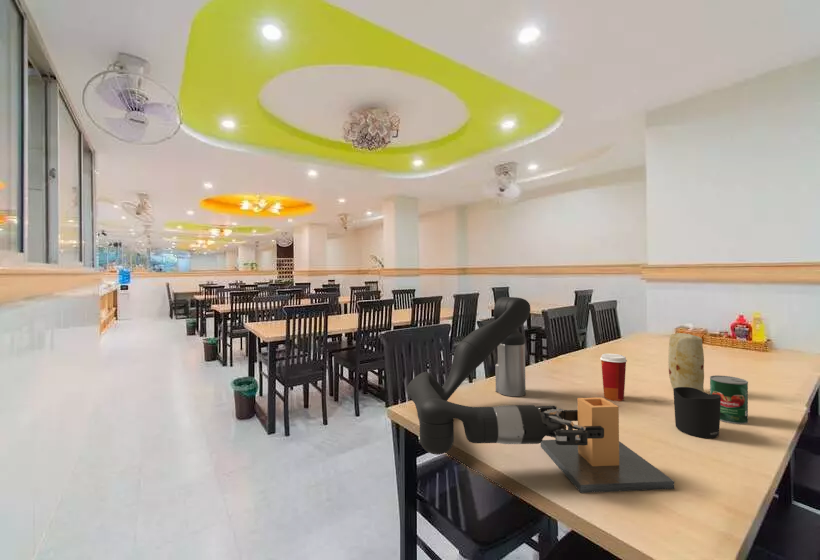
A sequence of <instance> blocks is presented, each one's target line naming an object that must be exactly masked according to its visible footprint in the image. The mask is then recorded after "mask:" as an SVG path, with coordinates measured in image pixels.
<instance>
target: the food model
mask: <svg viewBox="0 0 820 560" xmlns="http://www.w3.org/2000/svg"><path fill="white" fill-rule="evenodd" d="M667 363H668V365H667V366H668V375H669V377H668V378H669V380H670V384H671V388H672V390H673V389H674V388H677V387H691V388H695V389H698V390H700V391H702V392H705V389H704V388H705V387H704V381H705V354H704V346H703V338H702V337H701V336H698V335H695V334H694V335H693V334H690V333H684V332H683V333H681V332H678V333H677V332H676V333H672V334H670V335H669V341H668V361H667Z"/></svg>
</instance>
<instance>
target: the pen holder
mask: <svg viewBox="0 0 820 560" xmlns="http://www.w3.org/2000/svg"><path fill="white" fill-rule="evenodd" d="M672 391H673V405H674V406H673V407H674V422H675V428H676V429H677V430H678V431H679V432H681V433H682V434H685V435H689V436H691V437H695V438H699V439H700V438H701V439H716V438H717V437H719V436H720V426H721V421H720V405H721V396H720V395H718V394H710V393H707V392H705V391H704V392H702V391H700V390H698V389H695V388H691V387H677V388H674V389H673V388H672Z"/></svg>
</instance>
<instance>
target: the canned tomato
mask: <svg viewBox="0 0 820 560" xmlns="http://www.w3.org/2000/svg"><path fill="white" fill-rule="evenodd" d="M709 390H710V391H709V394H718V395H720V396H721V405H720V422H724V423H727V424H728V423H729V424H733V425H747V424H748V423H749V409H748V408H749V397H748V396H749V394H748V393H749V381H748V380H746V379H744V378H740V377H735V376H730V375H729V376H728V375H718V374H717V375H710V376H709Z"/></svg>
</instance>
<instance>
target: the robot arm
mask: <svg viewBox="0 0 820 560" xmlns="http://www.w3.org/2000/svg"><path fill="white" fill-rule="evenodd" d="M530 315H531V304H530V303H529V301H528V300H526V299H524V298H522V297H517V296H516V297H514V296H501V297H499V298H498V299H497V300H496V301H495V304H494V307H493V321H492V322H489V323H488V324H485V325H482V326H480V327H478V328H476V329H474V330H473V331H471V332H470V333H468V334H467V335H466V336H465V337H464V338H463V339H462V340H461V341H460V342H459V343H458V344H457V345H456V346H455V350H454V352H453V353H454V354H453V356H452V357H453V358H452V362H451V367H450V371H449V374H448V375H447V378H446V380H445V381H444V383H443V385H441V384H440V383H439V382H438V380H437V379H436V378H435V377H434V376H433V375H432V374H431V373H430V372H428V371H423V372H421V373H419V374H417V375H416V376H414V377H413V379H411V380H410V382H409V383H408V385H407V387H406V393H407V395H408V397H409V398H410V399H411V401H412V402H413V403H414V405H415V408H416V414H417V418H418V422H419V423H418V424H419V443H420V446H421V447H422V448H423V450H425V451H426V452H427V453H429V454H432V455H435V456H436V455H438V456H439V455H444V454H446V453H448V451H450V450H451V449H452V447H453V444H454V443H455V441H454V440H455V436H454V435H455V432H454V430H455V429H454V419H456V420H459V421H461V422H462V425H463V430H464V431H463V432H464V433H465V437H466V440H467V441H468V442H470V443H471V444H500V445H501V444H502V445H538V444H541V442H542V440H544V438H545V437H551V438H554V440H556V444H558V445H588V439H593V438H603V437H604V428H603V427H601V426H579V425H578V424H575V423H574V422H578V409H563V408H557V406H556V405H534V404H524V405H523V404H521V405H520V404H519V405H518V404H512V405H510V404H508V405H497V406H496V405H495V406H470V405H464V404H460V403H459V404H458V403H455V402H452V401H448V400H449V399H450V398H451V397H452V395H453V394H454V393H455V392H456V391H457V389H458V388H459V387H460V385H462V384H463V382H464V381H465V380H466V379H467V378H468V377H469V376H470V375H471V374H472V373H473V372H474V371H475V370H476V369H477V368H479V367H480V365H482V364H483V363H484V362H485V361H486V359H487V358H489V357H490V355H491V354H492V353H493V351H495V349H497V363H496V364H495V366H494V367H495V368H494V369H495V374H494V375H495V392H498V393H499V394H501V395H503V396H507V397H522V396H524V395H526V341H525V340H526V339H525V335H524V334H523V333H521V332H520V331H519V330H518V328H520V327H521V326H522V325H523V324H525V322H527V320H528V318H529V317H530ZM575 439H577V440H575Z"/></svg>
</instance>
